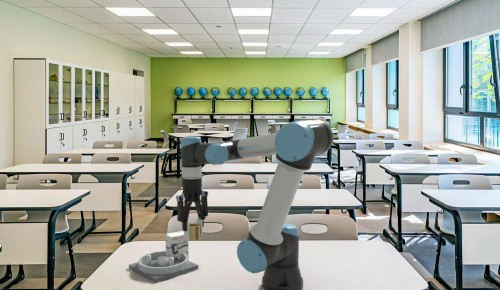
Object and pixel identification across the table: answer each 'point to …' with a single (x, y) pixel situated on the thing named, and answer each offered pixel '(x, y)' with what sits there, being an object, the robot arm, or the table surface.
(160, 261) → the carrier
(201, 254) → the table surface
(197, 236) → the tan hollow cylinder
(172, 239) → the ink box
